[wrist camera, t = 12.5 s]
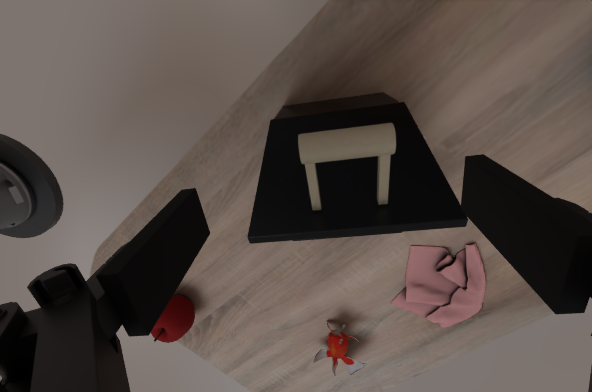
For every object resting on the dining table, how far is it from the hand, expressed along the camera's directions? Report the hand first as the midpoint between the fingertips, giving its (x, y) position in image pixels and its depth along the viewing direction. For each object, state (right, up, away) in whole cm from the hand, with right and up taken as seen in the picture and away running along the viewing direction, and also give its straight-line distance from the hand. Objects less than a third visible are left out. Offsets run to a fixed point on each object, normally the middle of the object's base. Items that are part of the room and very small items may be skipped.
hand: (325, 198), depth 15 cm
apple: (-28, -24, +53) cm, 64 cm away
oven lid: (+3, +3, +14) cm, 15 cm away
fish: (+9, -32, +54) cm, 63 cm away
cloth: (+28, -17, +45) cm, 56 cm away
